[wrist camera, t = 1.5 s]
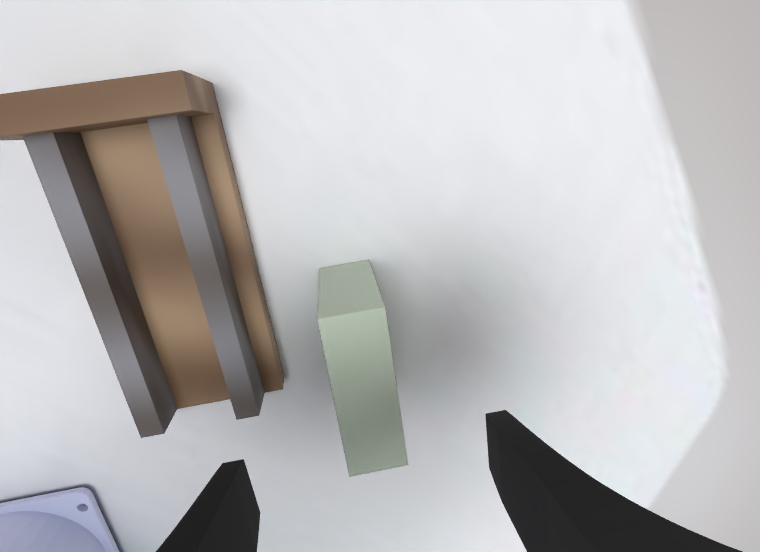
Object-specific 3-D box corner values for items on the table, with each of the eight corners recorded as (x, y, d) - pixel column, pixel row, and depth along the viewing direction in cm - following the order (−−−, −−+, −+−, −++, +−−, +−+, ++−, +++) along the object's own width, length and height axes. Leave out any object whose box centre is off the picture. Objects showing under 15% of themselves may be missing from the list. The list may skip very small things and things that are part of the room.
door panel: (387, 383, 23) (407, 464, 18) (343, 391, 23) (349, 476, 17) (368, 259, 21) (385, 307, 15) (319, 267, 21) (317, 319, 15)
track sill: (284, 378, 22) (276, 428, 18) (145, 404, 22) (107, 461, 18) (212, 83, 18) (181, 70, 14) (33, 107, 17) (-49, 100, 13)
